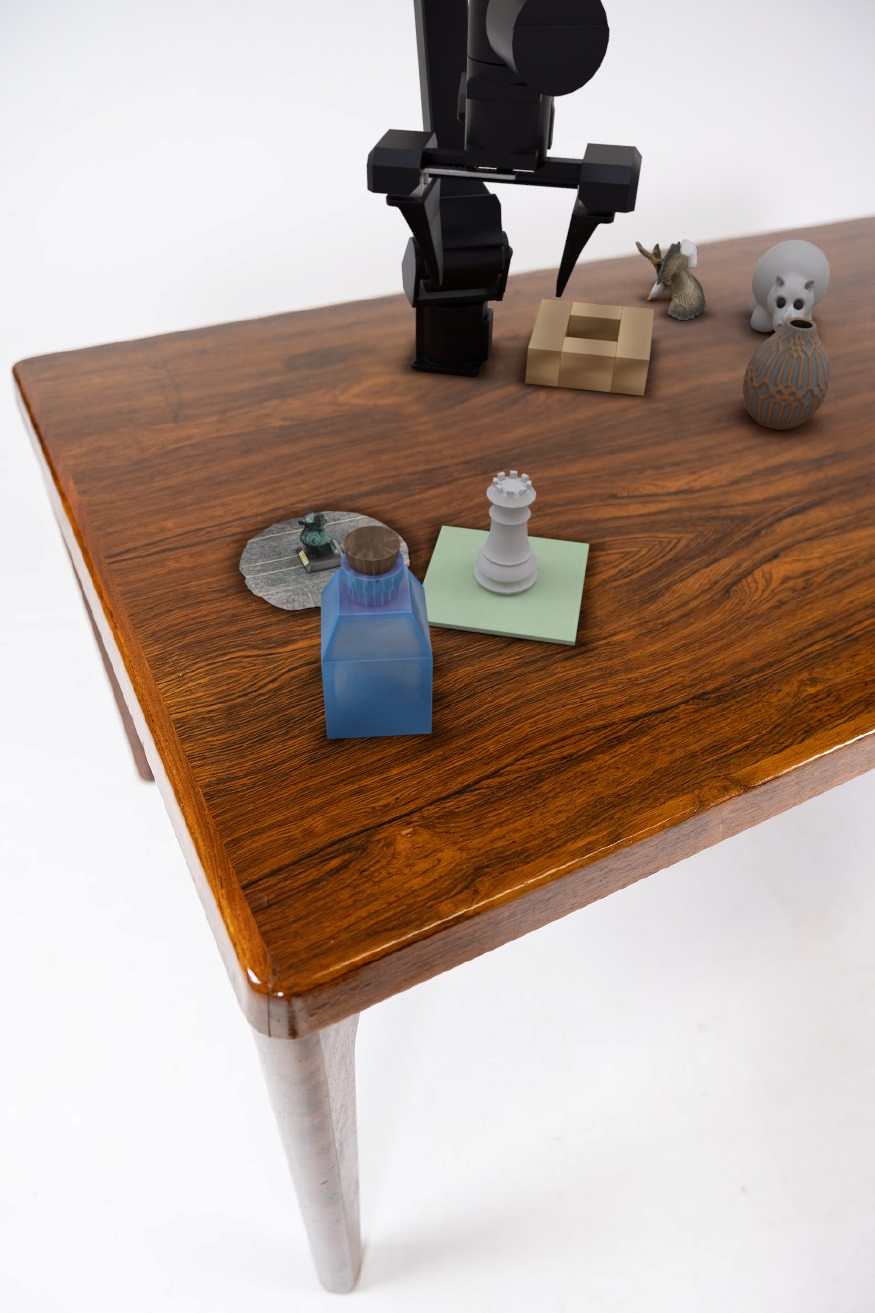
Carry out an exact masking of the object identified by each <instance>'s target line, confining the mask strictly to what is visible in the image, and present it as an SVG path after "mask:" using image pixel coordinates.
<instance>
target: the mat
mask: <svg viewBox="0 0 875 1313" xmlns="http://www.w3.org/2000/svg"><path fill="white" fill-rule="evenodd" d="M489 532H490V530H489V531H488V530H483V529H482V530H481V529H475V528H473V529H472V528H465V527H457V526H450V525H442V526H441V529H440V531H439V535H438V538H437V539H436V540H437V541H436V543H435V546H434V549H433V552H432V555H431V559H430V562H429V565H428V567H427V570H426V574H425V577H424V580H423V583H422V584H421V585H422V586H423V587H424V590H425V598H426V607H427V615H428V623H429V627H430V626H431V627H438V628H445V629H452V630H459V631H467V632H471V633H472V632H474V633H481V634H488V635H495V636H502V637H509V638H516V639H524V640H530V641H538V642H546V643H553V644H559V645H567V646H573V647H574V646H575V645H576V638H577V632H578V631H577V630H578V625H579V618H580V611H581V605H582V598H583V590H584V583H585V579H586V578H585V577H586V570H587V563H588V558H589V557H588V556H589V550H590V549H589V548H590V544H589V543H585V542H577V541H571V540H569V541H568V540H561V539H552V538H545V537H537V536H529V535H528V542H529V544H530V546H531V548H532V551H533V552H534V554H535V556H536V559H537V569H536V570H537V579H536V581H535V582H534V583H533V584H532V585H531V586H530V587H529V588H528V589H527V590H525V591H523V592H521V593H519V594H512V595H501V594H496V593H493V592H490V591H488V590H487V589H485V588H484V587H483V586H482V585H481V584H480V583H479V582H478V581H477V579H476V577H475V575H474V570H475V566H476V564H475V562H476V557H477V554H478V552H479V551H480V550H481V548H482V547H483V544H484V543H485V542H486V541H487V539H488V537H489Z"/></svg>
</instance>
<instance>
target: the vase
mask: <svg viewBox="0 0 875 1313" xmlns="http://www.w3.org/2000/svg"><path fill="white" fill-rule="evenodd" d="M830 379H831V363H830V359H829V356H828V353H827V350H826V348H825V346H824V344H823V342H822V341H821V339H820V336H819V332H818V326H817V323H816V322H815V321H814V320H813V319H812V320H810V319H807V318H802V317H794V318H790V319H788V320H787V321H786V322H785V324H784V325H783V326H782V327H781V329H780V330H779V331H777V332H775V333H773V334H772V335H771V336H769V337H768V338H767V339H765V341H763V342H762V343H761V344H760V345H759V346H758V348H757V349H756V350H755V352H754V353H753V355H752V356H751V358H750V360H749V362H748V363H747V367H746V369H745V373H744V377H743V383H742V396H743V398H742V399H743V403H744V406H745V408H746V410H747V412H748V414H749V415H750V416H751V417H752V419H753V420H754V421H755V422H756V423H757V424H759V425H761V426H763V427H765V428H768V429H772V430H777V431H778V430H779V431H782V430H783V431H787V430H791V429H795V428H797V427H799V426H801V425H803V424H804V423H806V422H808V421H809V420H810V419H811V418H812V417H813V416H814V415H815V414H816V412H818V410H819V409H820V407H821V406H822V405H823V402H824V400H825V397H826V395H827V392H828V389H829V385H830Z"/></svg>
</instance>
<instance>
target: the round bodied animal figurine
mask: <svg viewBox="0 0 875 1313" xmlns="http://www.w3.org/2000/svg"><path fill="white" fill-rule="evenodd" d="M830 280H831V270H830V264H829V261H828V258H827V257H826V256H825V254H824V252H823V251H822V250H821V249H820V247H818V246H816V245H815V244H813V243H812V242H809V241H806V240H803V239H789V240H784V241H781V242H779V243H776V244H775V245H773V246H772V247H770V248H768V249H767V251H766V252H764V253H763V254H762V256H761V257H760V258H759V259H758V262H757V263H756V266H755V267H754V270H753V274H752V279H751V289H752V293H753V297H752V298H751V301H750V304H749V311H750V313H752V314H751V318H750V323H749V324H750V327H751V328H752V329H753V330H755V331H758V332H759V333H760V332H761V333H770V332H772V331H774V332H775V333H776V332H777V331H779V330H780V329H781V327H782V326H783V325H784V324H785V322H786V321H787V320H788V319H790V318H794V317H802V318H807V319H810V320H812V321H813V318H812V314H813V310H814V309H815V308H816V307H817V305H819V304H820V303H821V301H822V300H823V298H824V297H825V295H826V293H827V292H828V288H829V285H830Z"/></svg>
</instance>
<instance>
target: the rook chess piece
mask: <svg viewBox="0 0 875 1313" xmlns="http://www.w3.org/2000/svg"><path fill="white" fill-rule="evenodd" d="M486 497H487V498H488V500H489V501H490V503H491V504H492V505H491V506H490V507H489V510H488V515H489V517H490V518H491V520H490V521H491V522H490V523H491V524H490V528H489V531H490V532H489V537H488V539H487V541H486V542H485V543H484V544H483V547H482V548H481V550H480V551H479V552H478V554H477V557H476V562H475V564H476V566H475V570H474V575H475V577H476V579H477V581H478V582H479V583H480V584H481V585H482V586H483V587H484V588H485V589H487V590H488V591H490V592H493V593H496V594H501V595H512V594H519V593H521V592H523V591H525V590H527V589H528V588H529V587H530V586H531V585H532V584H533V583H534V582H535V581H536V579H537V570H536V569H537V559H536V556H535V554H534V552H533V551H532V548H531V546H530V544H529V542H528V536H529V534H528V520H529V519H530V518H531V516H532V511H531V510H530V508H529V506H530V505H531V504H532V503H533V502H534V501H535V500H536V499H537V492H536V490H535V489H534V487H533V486H532V480H530V476H529V475H528V474H526V473H522V474H521V476H520V477H518V470H509V476H506V473H505V472H504V471H501V472H498V473H497V474H496V477H493V479H492V483H491V484H490V485H489V486H488V487H487V489H486Z"/></svg>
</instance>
